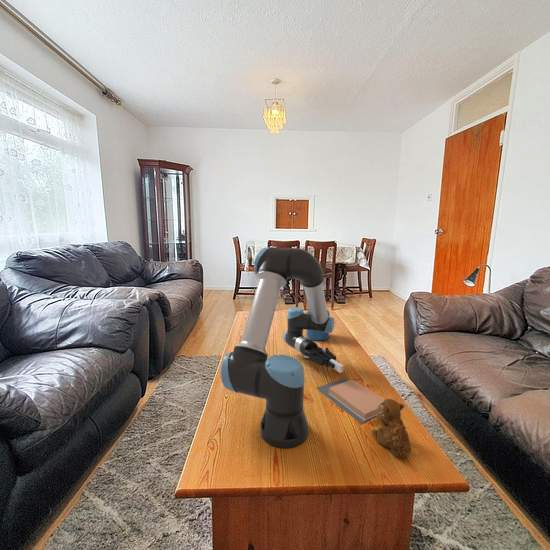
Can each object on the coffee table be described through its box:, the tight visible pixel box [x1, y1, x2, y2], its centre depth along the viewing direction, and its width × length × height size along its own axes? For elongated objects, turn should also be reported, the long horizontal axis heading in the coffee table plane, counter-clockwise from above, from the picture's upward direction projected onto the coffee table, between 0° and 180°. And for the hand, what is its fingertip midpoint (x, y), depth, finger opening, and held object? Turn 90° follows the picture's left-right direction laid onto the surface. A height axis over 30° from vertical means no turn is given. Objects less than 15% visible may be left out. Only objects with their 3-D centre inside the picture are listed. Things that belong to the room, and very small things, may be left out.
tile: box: [329, 379, 385, 421], centre depth 106 cm, size 2×12×18 cm
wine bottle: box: [305, 308, 331, 342], centre depth 166 cm, size 14×13×30 cm
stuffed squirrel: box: [371, 398, 412, 458], centre depth 85 cm, size 10×14×13 cm
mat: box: [315, 377, 384, 425], centre depth 109 cm, size 24×16×1 cm, turn 30°
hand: (341, 369), depth 113 cm, fingers closed
